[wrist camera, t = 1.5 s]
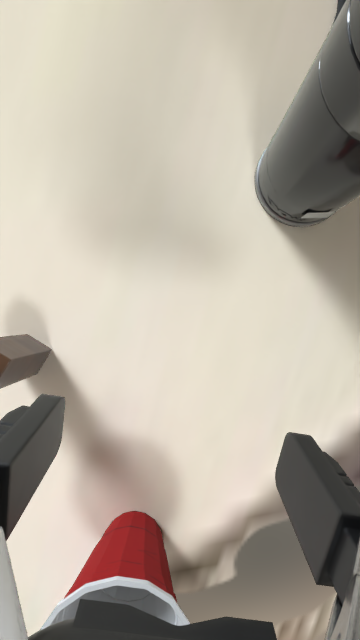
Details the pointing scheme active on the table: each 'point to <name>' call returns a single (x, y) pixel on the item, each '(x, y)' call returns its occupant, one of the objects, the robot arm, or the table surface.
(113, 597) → the plastic cup
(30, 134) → the table surface
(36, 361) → the post
